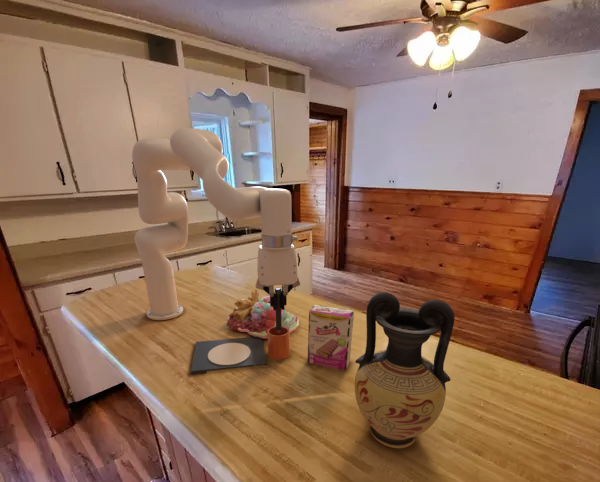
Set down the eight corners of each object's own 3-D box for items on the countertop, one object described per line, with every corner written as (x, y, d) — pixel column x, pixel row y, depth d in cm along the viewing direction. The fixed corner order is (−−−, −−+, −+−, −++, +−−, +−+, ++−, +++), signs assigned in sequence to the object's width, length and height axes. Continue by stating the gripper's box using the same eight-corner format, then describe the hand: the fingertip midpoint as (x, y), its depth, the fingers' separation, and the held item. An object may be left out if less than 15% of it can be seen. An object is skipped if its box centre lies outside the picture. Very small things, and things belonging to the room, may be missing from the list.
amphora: (431, 411, 76) (456, 286, 64) (443, 472, 61) (478, 323, 49) (353, 399, 79) (363, 278, 68) (345, 454, 64) (357, 311, 53)
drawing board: (196, 344, 103) (195, 341, 102) (261, 338, 106) (261, 335, 106) (191, 374, 88) (190, 370, 88) (267, 366, 92) (266, 362, 92)
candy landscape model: (213, 327, 111) (211, 301, 108) (252, 305, 131) (252, 283, 128) (279, 343, 101) (279, 315, 98) (311, 317, 121) (311, 292, 118)
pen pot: (267, 351, 100) (266, 327, 96) (287, 349, 101) (287, 325, 98) (269, 362, 94) (268, 337, 91) (291, 360, 95) (291, 335, 92)
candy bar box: (306, 364, 93) (307, 310, 86) (312, 355, 97) (313, 303, 91) (346, 372, 90) (350, 317, 83) (350, 363, 94) (354, 309, 88)
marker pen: (275, 331, 95) (274, 288, 90) (281, 330, 95) (280, 287, 90) (276, 333, 93) (275, 290, 88) (282, 333, 94) (281, 289, 89)
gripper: (304, 236, 89) (303, 301, 96) (244, 239, 86) (248, 305, 93) (310, 242, 82) (309, 311, 89) (246, 245, 80) (250, 316, 87)
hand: (278, 307), depth 91 cm, fingers closed on marker pen, 1 cm apart
